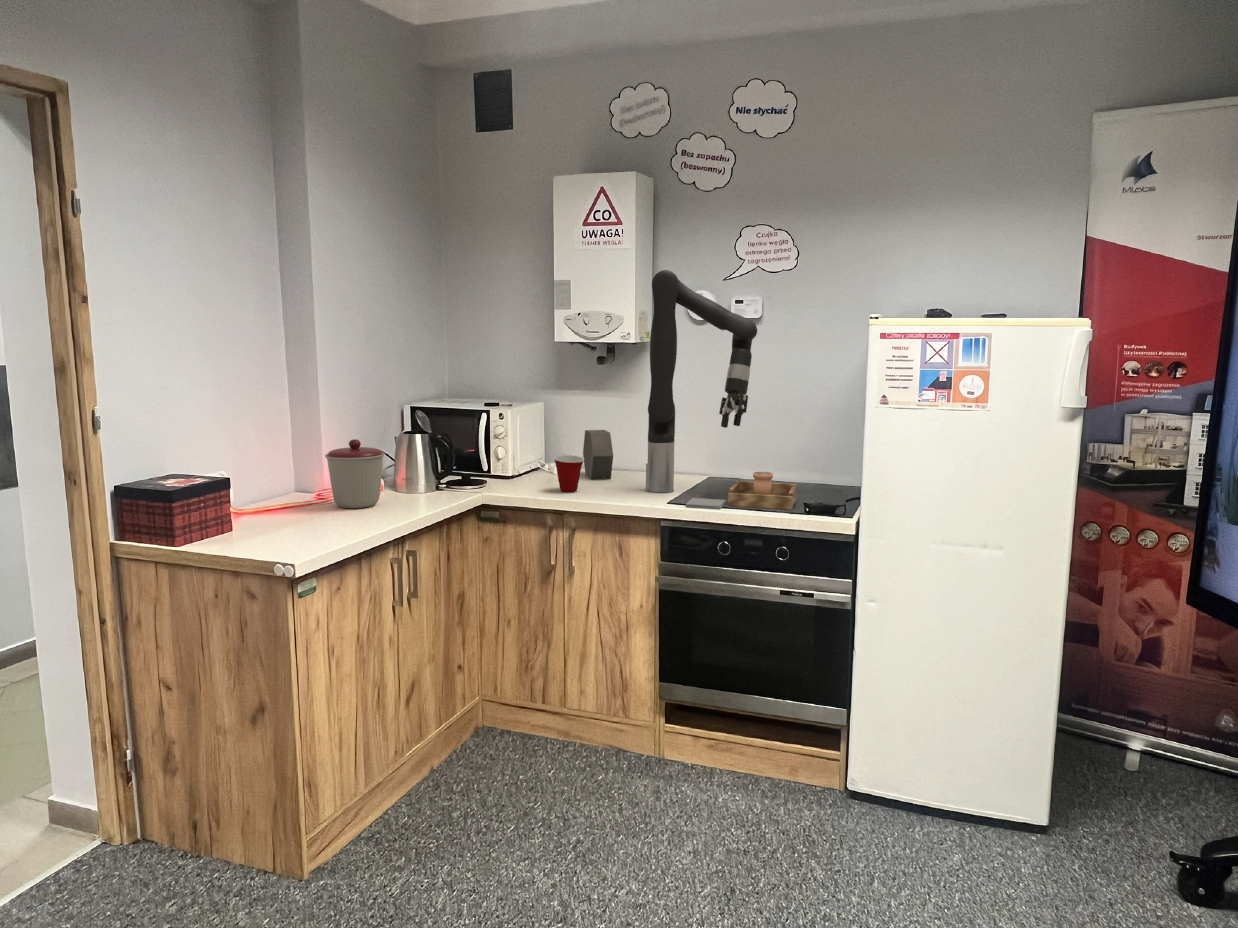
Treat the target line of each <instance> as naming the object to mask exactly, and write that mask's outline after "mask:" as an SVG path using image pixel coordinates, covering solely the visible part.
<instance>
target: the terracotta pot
mask: <svg viewBox="0 0 1238 928" xmlns="http://www.w3.org/2000/svg"><path fill="white" fill-rule="evenodd" d="M752 477H753V482H754V494H758V495H771V487H772V483H773V481H772V480H773V478H774V473H773V472H769V471H755V472H753V473H752Z"/></svg>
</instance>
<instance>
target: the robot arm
mask: <svg viewBox="0 0 1238 928" xmlns="http://www.w3.org/2000/svg"><path fill="white" fill-rule="evenodd" d="M651 289H652V301H653V314H652V315H653V316H652V322H651V327H650V328H651V329H650V339H649V366H650V367H649V370H650V382H651V383H650V391H649V392H650V393H649V401H648V405H647V412H648V429H647V431H648V432H647V463H645V492H650V493H651V492H652V493H672V492H674V489H675V488H674V487H675V435H676V405H675V402H674V390H673V385H674V383H673V382H674V375H675V369H676V364H677V355H678V331H677V320H676V306H677V305H679V306H681V307H683V308H685V309H687V310H689V311H690V312H691V313H693V314H694V315H696V316H697V317H698V318H700V319H702V320H703V321H705V322H706V323H708V324H710V325H711V326H713V327H715V328H717V329H718V330H720V331H728V332H729V333H732V339H731V341H732V342H731V353H730V354H731V355H730V360H729V364H728V365H729V366H728V369H727V372H726V379H725V385H724V386H725V387H724V392H725V393H727V396H726V397H724V396H723V397H722V398H721V403H720V407H719V412H718V413H719V415H721V423H720V427H722V428H725V429H726V428H729V427H728V426H729V420H730V416H731V413H733V412H734V413H735V414H734V416H733V417H734V418H733V423H732V425H733V426H735V427H740V426H741V422H742V416H743V415H744V413H745V414H746V413H747V408H748V401H749V395H748V394H747V393H748V388H749V384H750V383H749V382H750V376H751V365H752V364H751V363H752V356H753V355H752V343H753V339H755V338H756V337H757V334H758V327H757V325H756V324H755V322H753V321H752V319H751V320H750V319H749V318H747V317H745V316H743V315H740V314H738V313H734V312H732V311H731V310H729V309H727V308H726V307H724V306H722V305H721V304H719V303H718V302H716V301H714V300H712V299H710V298H708V297H705V296H703V295H702V294H699V293H697V292H696V291H693V289H691V288H689V287H688V286H686V284H684V283H683V282H682V281H681V280H680V279H679V278H678V276H677V275H676V273H674V272H673V271H672V270H669V269H663V270H660V271H658V272H656V273H655V274H654V275H653V278H652V280H651Z"/></svg>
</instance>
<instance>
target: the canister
mask: <svg viewBox="0 0 1238 928" xmlns="http://www.w3.org/2000/svg"><path fill="white" fill-rule="evenodd" d="M361 444H362V443H361V441H360V440H359V439H356V438H354V439H351V440H349V442H348V446H349V447H341V448H336V449H332V450H330V451H328V452H327V453H326V454H324V457H325V458H326V460H327V466H328V473H329V480H330V485H331V492H332V495H333V496H332V497H333V501H334V503H335V505H336V506H337V507H340V508H344V509H364V508H365V509H366V508H369V507H370V508H371V507H373V506H375V505H376V504H377V503H378V502H379V500H380V497H381V496H380V495H381V488H382V487H381V486H382V476H383V475H382V474H383V465H384V464H383V462H384V461H383V460H384V457H385V455H386V453H385V452H384V451H382V450H380V449H378V448H376V447H367V446H365V447H364V446H361Z"/></svg>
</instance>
